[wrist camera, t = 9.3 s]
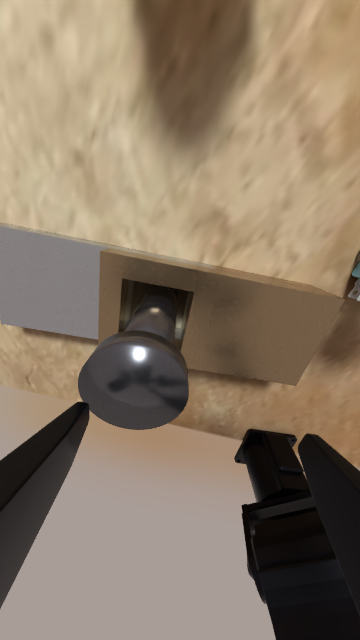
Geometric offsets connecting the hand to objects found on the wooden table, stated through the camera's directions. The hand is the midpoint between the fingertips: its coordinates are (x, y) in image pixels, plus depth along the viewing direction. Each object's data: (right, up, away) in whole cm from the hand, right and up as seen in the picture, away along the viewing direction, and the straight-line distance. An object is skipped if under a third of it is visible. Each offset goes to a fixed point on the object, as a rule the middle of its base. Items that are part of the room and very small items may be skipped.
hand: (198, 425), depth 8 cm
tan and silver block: (-3, +6, +10) cm, 12 cm away
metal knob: (-3, +6, +10) cm, 12 cm away
